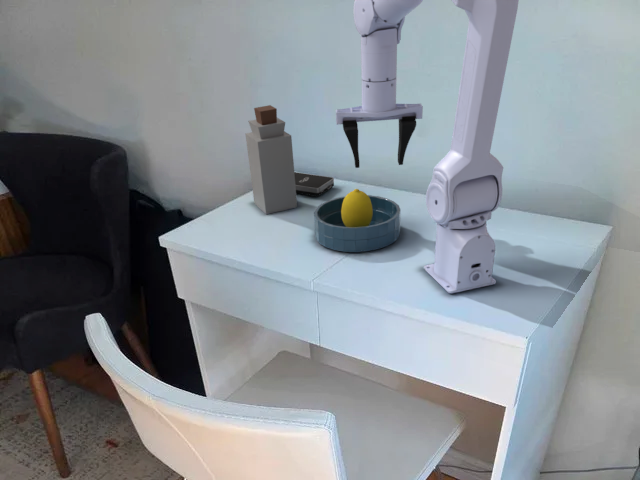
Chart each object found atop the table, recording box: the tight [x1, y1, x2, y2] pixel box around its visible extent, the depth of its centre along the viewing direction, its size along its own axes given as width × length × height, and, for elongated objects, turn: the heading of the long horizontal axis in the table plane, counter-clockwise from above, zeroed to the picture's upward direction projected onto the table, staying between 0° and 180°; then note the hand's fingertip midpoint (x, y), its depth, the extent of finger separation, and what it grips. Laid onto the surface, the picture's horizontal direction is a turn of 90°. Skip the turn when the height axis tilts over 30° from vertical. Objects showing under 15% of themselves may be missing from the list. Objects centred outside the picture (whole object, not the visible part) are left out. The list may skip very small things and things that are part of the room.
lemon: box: [341, 188, 373, 227], centre depth 107 cm, size 6×6×8 cm
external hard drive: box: [294, 171, 335, 197], centre depth 129 cm, size 7×11×2 cm, turn 59°
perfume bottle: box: [245, 104, 298, 215], centre depth 118 cm, size 7×7×18 cm
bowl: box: [313, 194, 402, 253], centre depth 109 cm, size 15×15×4 cm
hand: (378, 164), depth 108 cm, fingers open, 7 cm apart
